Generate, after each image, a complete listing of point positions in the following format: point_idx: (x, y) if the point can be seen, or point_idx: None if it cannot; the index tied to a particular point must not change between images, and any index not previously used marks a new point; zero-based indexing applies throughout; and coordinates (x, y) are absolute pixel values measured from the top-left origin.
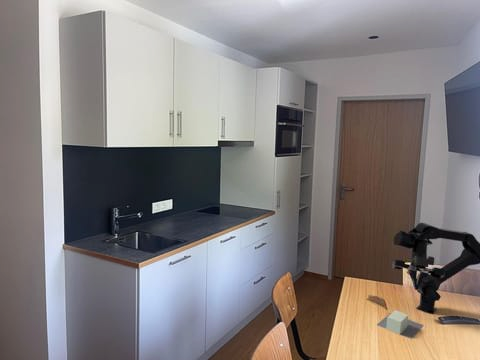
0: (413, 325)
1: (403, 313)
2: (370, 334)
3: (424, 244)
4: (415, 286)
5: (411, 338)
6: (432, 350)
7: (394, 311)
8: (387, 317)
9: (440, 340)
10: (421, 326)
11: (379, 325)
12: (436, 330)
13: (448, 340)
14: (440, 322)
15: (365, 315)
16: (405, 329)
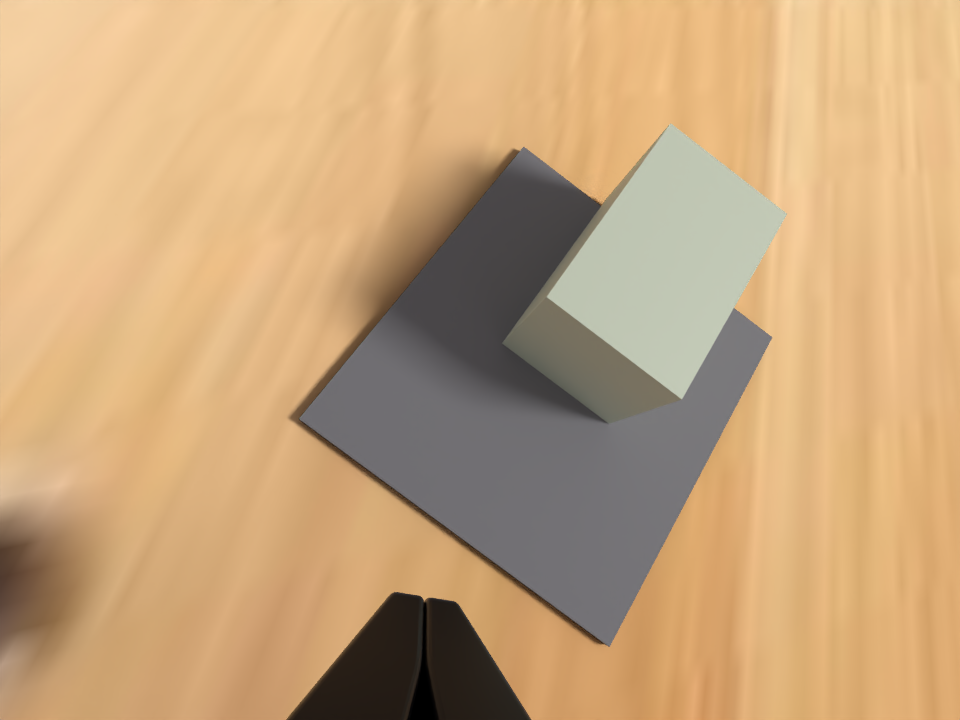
0: (425, 386)
1: (599, 323)
2: (814, 196)
3: None
4: (469, 644)
5: (521, 150)
6: (398, 18)
7: (695, 359)
8: (780, 215)
9: (246, 157)
10: (340, 381)
11: (748, 329)
12: (187, 342)
13: (156, 163)
14: (8, 564)
15: (848, 522)
16: (532, 293)
